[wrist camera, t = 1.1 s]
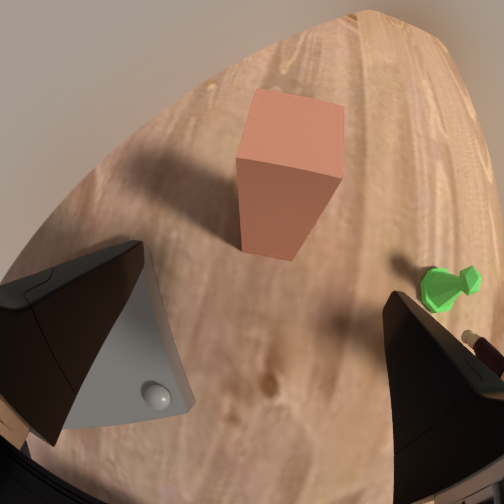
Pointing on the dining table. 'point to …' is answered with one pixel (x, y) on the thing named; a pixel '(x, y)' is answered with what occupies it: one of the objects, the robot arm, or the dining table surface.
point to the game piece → (447, 287)
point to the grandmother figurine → (485, 352)
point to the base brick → (134, 366)
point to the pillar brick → (287, 170)
